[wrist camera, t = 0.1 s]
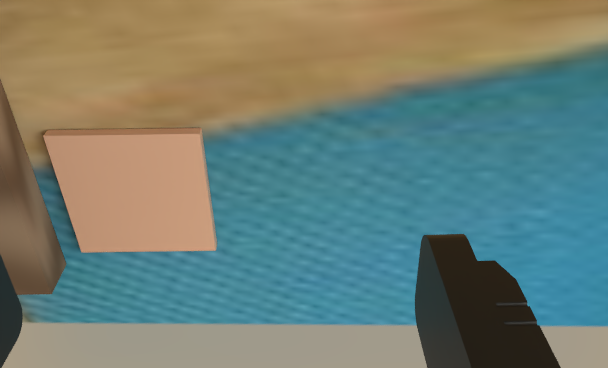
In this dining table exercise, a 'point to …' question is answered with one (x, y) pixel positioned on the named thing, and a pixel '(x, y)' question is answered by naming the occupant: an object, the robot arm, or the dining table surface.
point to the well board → (24, 216)
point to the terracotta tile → (135, 188)
